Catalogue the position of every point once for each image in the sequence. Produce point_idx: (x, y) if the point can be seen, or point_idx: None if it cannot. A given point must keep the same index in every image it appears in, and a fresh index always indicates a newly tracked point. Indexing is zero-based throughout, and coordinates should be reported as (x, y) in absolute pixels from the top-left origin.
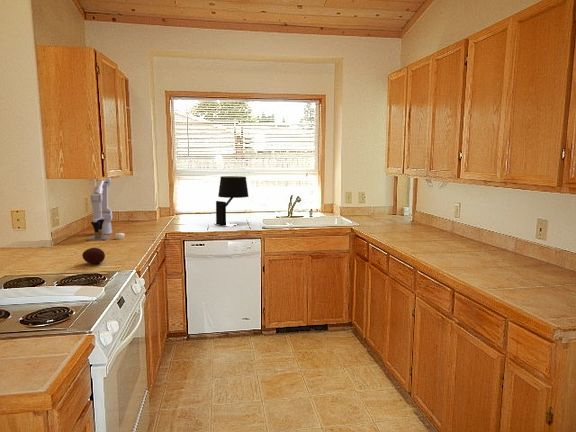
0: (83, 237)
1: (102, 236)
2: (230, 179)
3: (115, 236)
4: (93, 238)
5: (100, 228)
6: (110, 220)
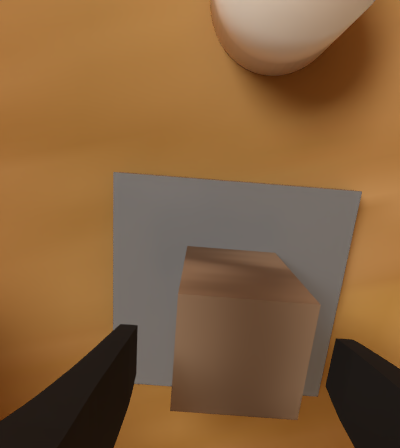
0: (122, 440)
1: (237, 254)
2: None
3: (330, 43)
4: None
5: (126, 363)
6: None
